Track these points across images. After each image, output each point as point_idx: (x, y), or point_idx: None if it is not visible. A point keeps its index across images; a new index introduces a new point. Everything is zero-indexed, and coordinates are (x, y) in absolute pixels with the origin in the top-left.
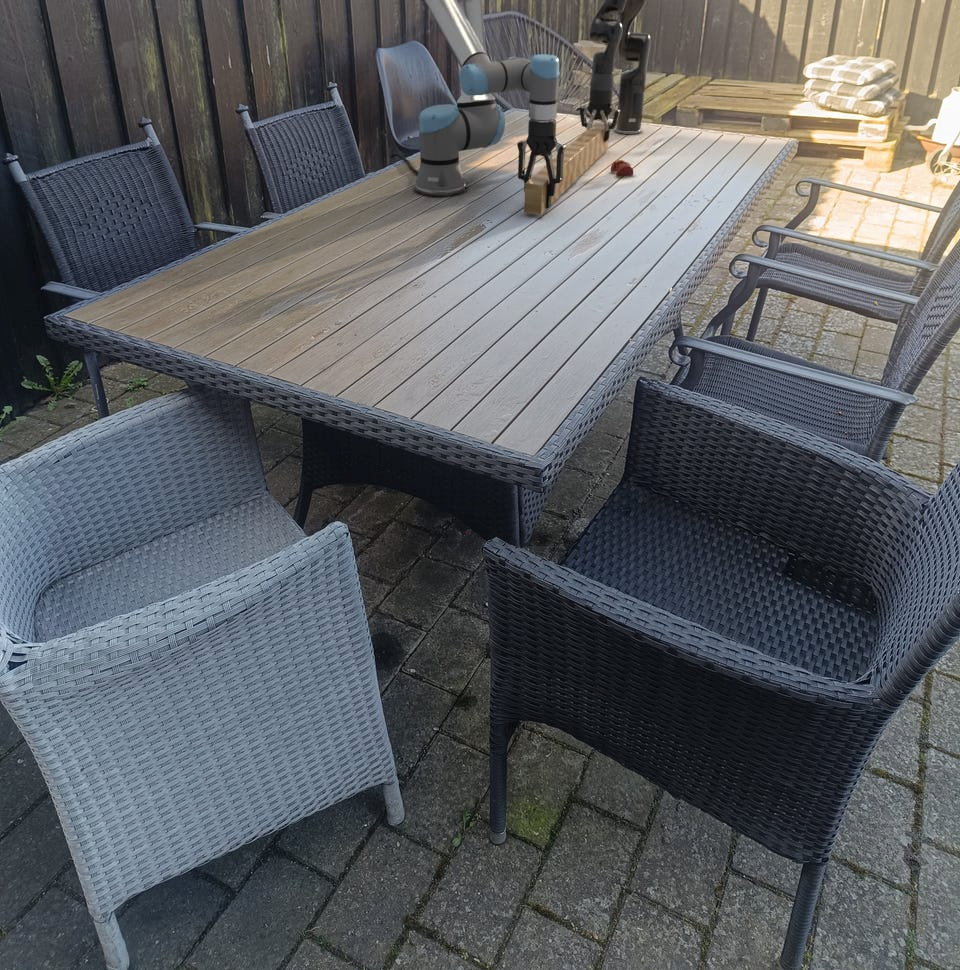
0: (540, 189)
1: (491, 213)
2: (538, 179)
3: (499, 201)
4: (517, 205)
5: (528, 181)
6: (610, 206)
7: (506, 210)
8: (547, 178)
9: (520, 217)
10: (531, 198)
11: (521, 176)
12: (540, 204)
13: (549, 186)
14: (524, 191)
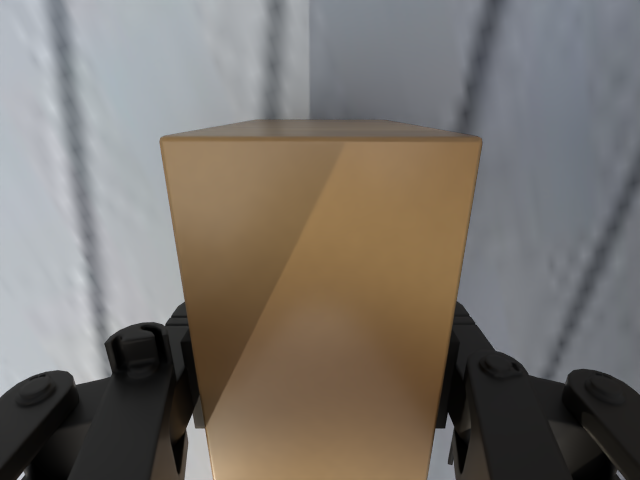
0: (208, 132)
1: (622, 107)
2: (325, 387)
3: (585, 341)
4: (470, 312)
5: (443, 257)
6: None
7: (523, 206)
8: (231, 452)
9: (401, 96)
10: (337, 125)
11: (586, 398)
12: (243, 122)
13: (186, 333)
14: (456, 304)
